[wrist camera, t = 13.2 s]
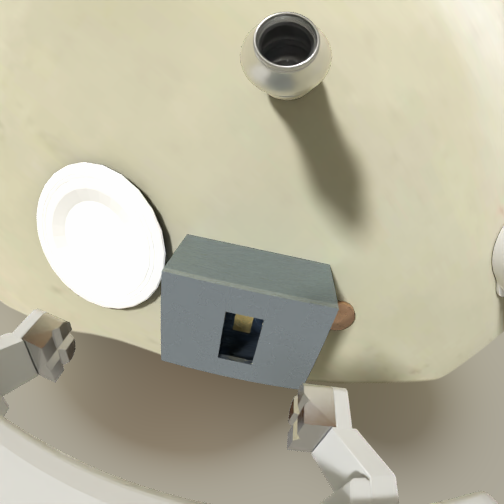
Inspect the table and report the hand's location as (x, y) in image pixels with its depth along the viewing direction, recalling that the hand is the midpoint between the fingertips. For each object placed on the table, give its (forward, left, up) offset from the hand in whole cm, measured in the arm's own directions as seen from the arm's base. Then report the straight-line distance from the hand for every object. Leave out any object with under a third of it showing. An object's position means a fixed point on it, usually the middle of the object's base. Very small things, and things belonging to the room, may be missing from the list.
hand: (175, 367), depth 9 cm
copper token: (-16, +19, -31) cm, 40 cm away
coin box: (-2, +18, -31) cm, 36 cm away
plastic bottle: (-1, -12, -31) cm, 34 cm away
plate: (+23, +15, -32) cm, 42 cm away
